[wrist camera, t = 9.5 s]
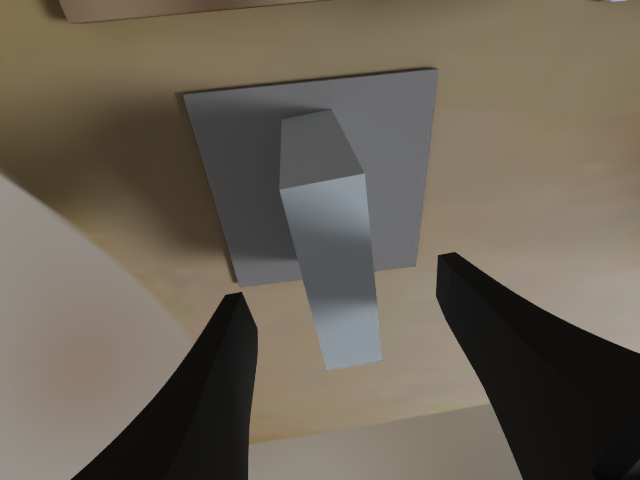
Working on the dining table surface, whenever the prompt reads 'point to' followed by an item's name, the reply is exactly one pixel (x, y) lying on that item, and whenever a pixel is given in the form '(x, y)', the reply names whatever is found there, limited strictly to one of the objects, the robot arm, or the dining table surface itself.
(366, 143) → the grey mat
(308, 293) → the pale grey rectangular block
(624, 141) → the dining table surface
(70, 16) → the offcut rack
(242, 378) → the robot arm
